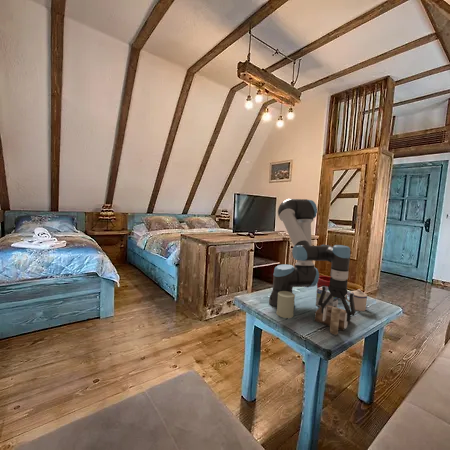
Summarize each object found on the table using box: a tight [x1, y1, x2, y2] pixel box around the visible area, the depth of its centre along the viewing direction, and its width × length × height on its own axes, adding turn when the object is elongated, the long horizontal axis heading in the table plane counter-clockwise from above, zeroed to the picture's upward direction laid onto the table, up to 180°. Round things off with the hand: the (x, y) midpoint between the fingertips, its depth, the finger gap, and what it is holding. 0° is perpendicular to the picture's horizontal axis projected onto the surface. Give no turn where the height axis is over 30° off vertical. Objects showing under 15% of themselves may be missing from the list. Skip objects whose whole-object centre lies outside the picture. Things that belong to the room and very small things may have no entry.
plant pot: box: [316, 275, 331, 289], centre depth 165 cm, size 13×13×12 cm
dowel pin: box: [329, 307, 341, 335], centre depth 118 cm, size 4×4×12 cm
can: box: [275, 291, 296, 319], centre depth 135 cm, size 9×9×12 cm
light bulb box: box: [315, 287, 339, 308], centre depth 147 cm, size 11×7×11 cm, turn 41°
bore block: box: [314, 305, 351, 331], centre depth 130 cm, size 14×14×5 cm
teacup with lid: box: [345, 288, 368, 312], centre depth 148 cm, size 12×9×12 cm
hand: (334, 323), depth 118 cm, fingers open, 9 cm apart
